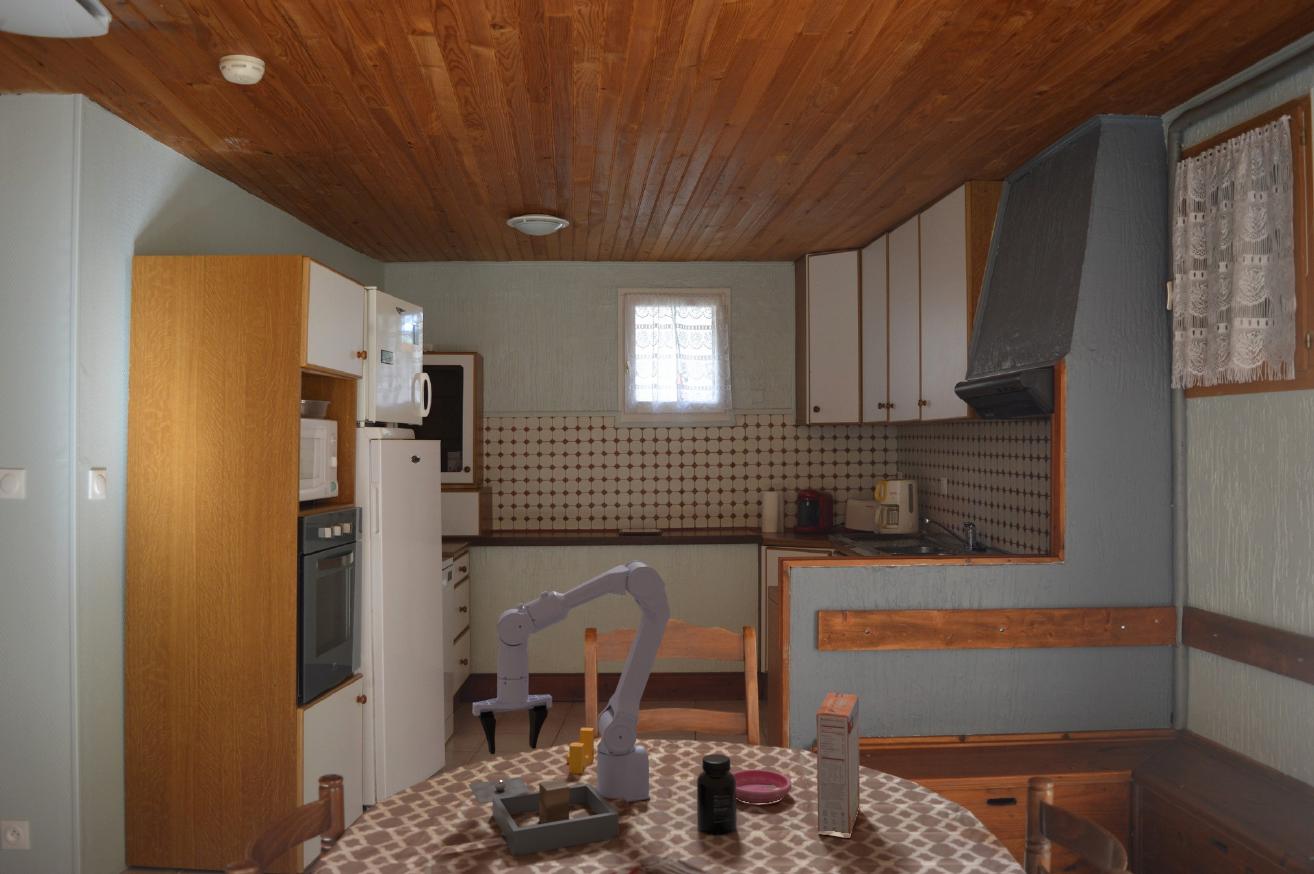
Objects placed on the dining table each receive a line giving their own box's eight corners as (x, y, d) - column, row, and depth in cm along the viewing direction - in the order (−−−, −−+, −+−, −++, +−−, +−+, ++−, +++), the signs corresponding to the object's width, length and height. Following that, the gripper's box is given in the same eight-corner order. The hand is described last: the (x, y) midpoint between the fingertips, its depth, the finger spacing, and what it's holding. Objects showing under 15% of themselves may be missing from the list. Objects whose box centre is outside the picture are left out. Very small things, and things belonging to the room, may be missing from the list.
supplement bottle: (740, 823, 155) (740, 754, 155) (731, 839, 149) (731, 767, 149) (703, 817, 157) (703, 749, 158) (691, 833, 151) (692, 762, 151)
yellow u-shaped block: (573, 757, 189) (573, 727, 189) (593, 758, 188) (593, 728, 188) (560, 778, 177) (560, 745, 177) (581, 779, 176) (582, 746, 176)
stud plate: (519, 782, 174) (519, 767, 174) (533, 800, 165) (533, 785, 165) (468, 789, 170) (468, 774, 170) (479, 808, 161) (479, 793, 161)
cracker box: (827, 804, 163) (827, 690, 164) (860, 809, 161) (860, 694, 162) (814, 835, 150) (814, 711, 151) (850, 840, 148) (850, 715, 149)
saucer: (728, 782, 175) (728, 766, 175) (791, 786, 173) (791, 770, 173) (722, 807, 163) (722, 789, 163) (790, 811, 161) (790, 794, 161)
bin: (589, 804, 163) (589, 783, 163) (618, 837, 149) (618, 813, 149) (492, 820, 156) (492, 797, 156) (513, 856, 142) (513, 831, 142)
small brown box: (569, 827, 152) (569, 786, 152) (546, 832, 150) (547, 790, 150) (560, 818, 155) (560, 778, 156) (538, 822, 154) (538, 782, 154)
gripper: (544, 667, 170) (544, 738, 170) (469, 674, 164) (468, 748, 164) (555, 675, 164) (555, 749, 163) (477, 683, 158) (476, 760, 158)
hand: (512, 749), depth 163 cm, fingers open, 7 cm apart
